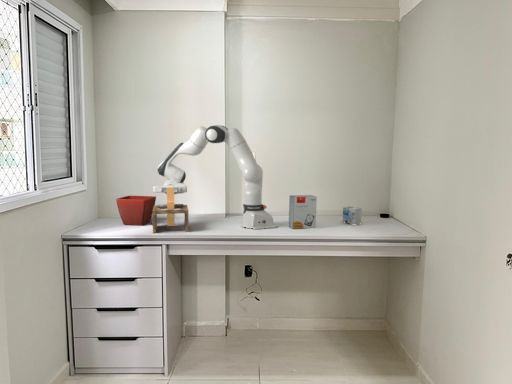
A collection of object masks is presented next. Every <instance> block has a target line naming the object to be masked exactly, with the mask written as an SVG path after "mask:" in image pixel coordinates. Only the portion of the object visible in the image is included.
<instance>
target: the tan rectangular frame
mask: <svg viewBox="0 0 512 384" xmlns="http://www.w3.org/2000/svg"><path fill="white" fill-rule="evenodd" d="M167 214H174V215H176V214H177V215H179V214H184V228H185V232H186V233H189V229H190V228H189V227H190V226H189V223H190V222H189V207H188V205H187V204H184V203H174V210H167V203H166V204H165V203H164V204H163V203H162V204H160V203H158V204H157V205H156V204H155V205H154V207H153V214H152V234H156V233H157V228H158V220H157V219H158V216H157V215H167Z"/></svg>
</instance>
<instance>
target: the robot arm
mask: <svg viewBox="0 0 512 384" xmlns="http://www.w3.org/2000/svg"><path fill="white" fill-rule="evenodd" d="M208 143H210V144H222V143H225V144H226V145H227V146H228V148H229V150H230V153H231V154H232V156H233V158H234V160H235V161H236V163H237V166H238V169H239V170H240V173H241V175H242V177H243V179H244V190H243V205H242V213H243V216H242V221H241V225H240V227H241V228H244V227H246V228H245V229H251V228H253V229H252V230H262V229H264V228H265V229H274V228H277V227H278V225H277V223H275V222H274V217H273V216H272V215H271V214H270V213H269V212H268V211H266V210H265V209H267V207H268V206H267V205H265V204H263V203H262V199H263V197H262V195H263V191H262V190H263V177H264V171H263V168H262V167H261V166H260V165H259V164H258V163H257V161H256V158H255V156H254V153H253V151H252V150H251V148H250V146H249V144H248V143H247V141H246V138H245V137H244V135H243V134H242V132H241V131H240V130H239V129H238V128H236V127H232V128H227V127H226V126H224V125H219V124H215V125H211V126H208V127H206V126H198V127H197V128H196V129H195V130H194V131H193V132H192V134H191V136H189V138H188V140H186V141H185V142H180V143H179V144H178V145H177V146H176V147H175V148H173V150H172V151H170V153H169V155H167V157H166V158H165V159H164V160H163V161H161V163H159V165H158V166H157V172H158V175H159V176H162V177H164V178H166V179H167V180H166V181H164V183H163V185H153V187H152V192H153V193H157V194H160V193H164V194H165V195H167V187H174V195H177V194H184V193H187V192H188V186H187V185H186V184H185V183H184V182H185V180H186V175H187V174H186V171H185V170H184V169H182V168H180V167H178V166H176V165H175V164H173V163H172V162H173V161H174V160H175V158H177V157H178V155H188V156H194V157H195V156H198V155H200V154H201V153H202V152H203V151H204V149H205V148H206V146H207V145H208ZM265 229H264V230H265Z"/></svg>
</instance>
